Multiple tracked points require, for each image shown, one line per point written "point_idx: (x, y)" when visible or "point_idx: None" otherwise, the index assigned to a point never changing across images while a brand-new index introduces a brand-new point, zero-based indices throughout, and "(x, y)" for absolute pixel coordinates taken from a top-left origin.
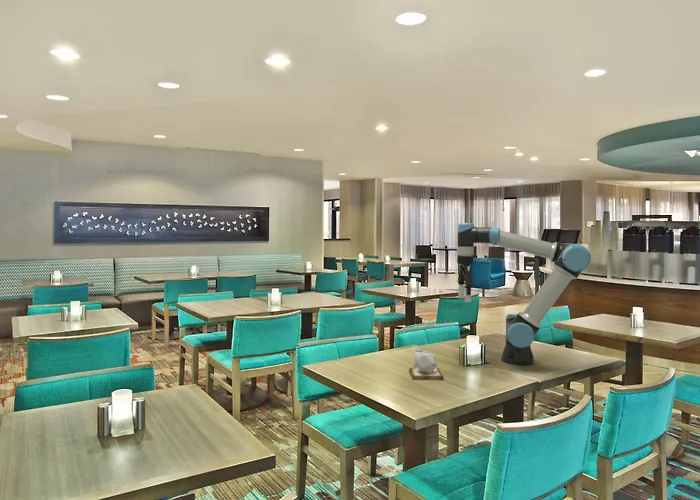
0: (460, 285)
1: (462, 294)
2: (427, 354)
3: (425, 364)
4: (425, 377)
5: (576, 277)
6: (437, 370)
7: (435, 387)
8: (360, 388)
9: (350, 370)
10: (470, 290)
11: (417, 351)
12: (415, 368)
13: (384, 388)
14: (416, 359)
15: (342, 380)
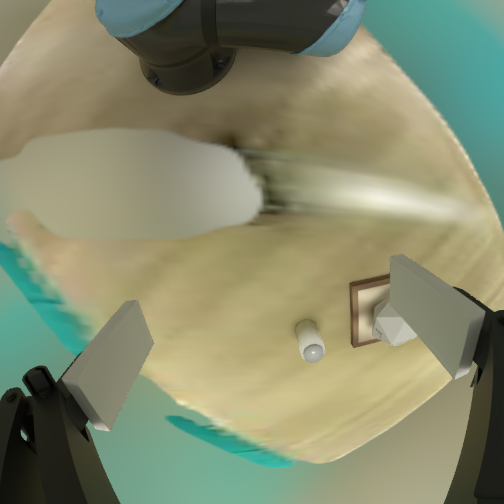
0: (103, 414)
1: (130, 332)
2: (410, 330)
3: None
4: None
5: None
6: (375, 287)
7: (450, 282)
8: (436, 384)
9: (346, 424)
10: (486, 306)
11: (321, 355)
12: (360, 335)
13: None
14: (395, 346)
15: (399, 415)
